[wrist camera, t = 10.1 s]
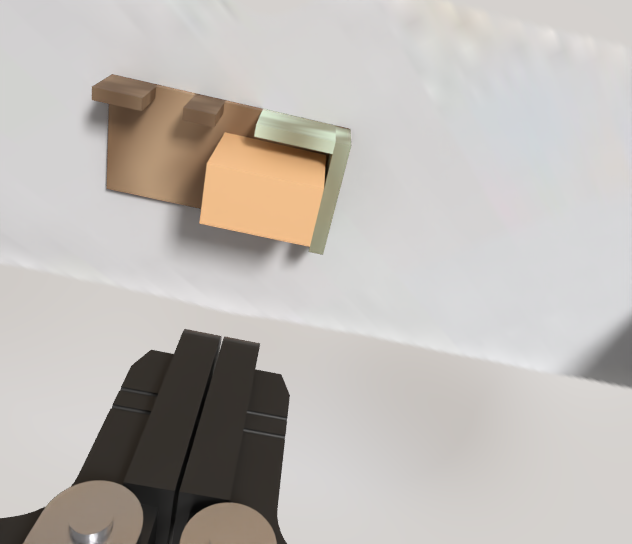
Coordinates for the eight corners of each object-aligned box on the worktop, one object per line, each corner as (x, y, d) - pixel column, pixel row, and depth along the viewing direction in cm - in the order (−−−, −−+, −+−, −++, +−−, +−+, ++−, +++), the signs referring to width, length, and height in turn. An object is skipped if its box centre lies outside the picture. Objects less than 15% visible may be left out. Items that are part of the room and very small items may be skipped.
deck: (350, 128, 38) (351, 145, 35) (324, 231, 42) (322, 254, 39) (112, 74, 37) (92, 86, 34) (108, 185, 41) (90, 206, 38)
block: (326, 154, 38) (323, 188, 33) (313, 207, 40) (309, 246, 35) (224, 132, 38) (206, 163, 33) (217, 186, 40) (199, 223, 35)
